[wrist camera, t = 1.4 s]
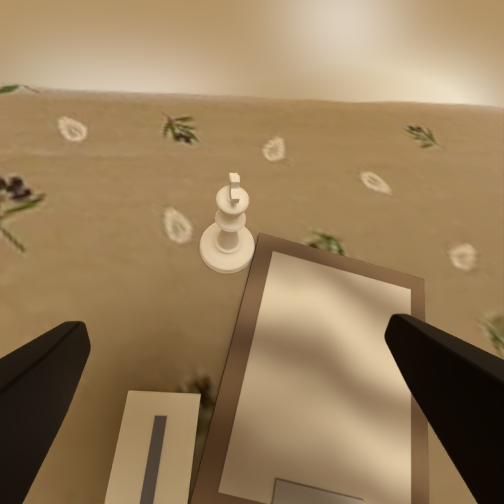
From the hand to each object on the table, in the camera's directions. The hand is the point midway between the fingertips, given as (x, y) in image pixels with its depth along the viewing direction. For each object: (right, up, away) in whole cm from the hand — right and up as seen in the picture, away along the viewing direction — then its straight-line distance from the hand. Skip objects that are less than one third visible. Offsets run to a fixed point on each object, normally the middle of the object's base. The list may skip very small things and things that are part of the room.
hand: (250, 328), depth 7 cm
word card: (-6, -12, +9) cm, 16 cm away
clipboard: (+6, -7, +13) cm, 16 cm away
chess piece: (-2, +3, +15) cm, 16 cm away
